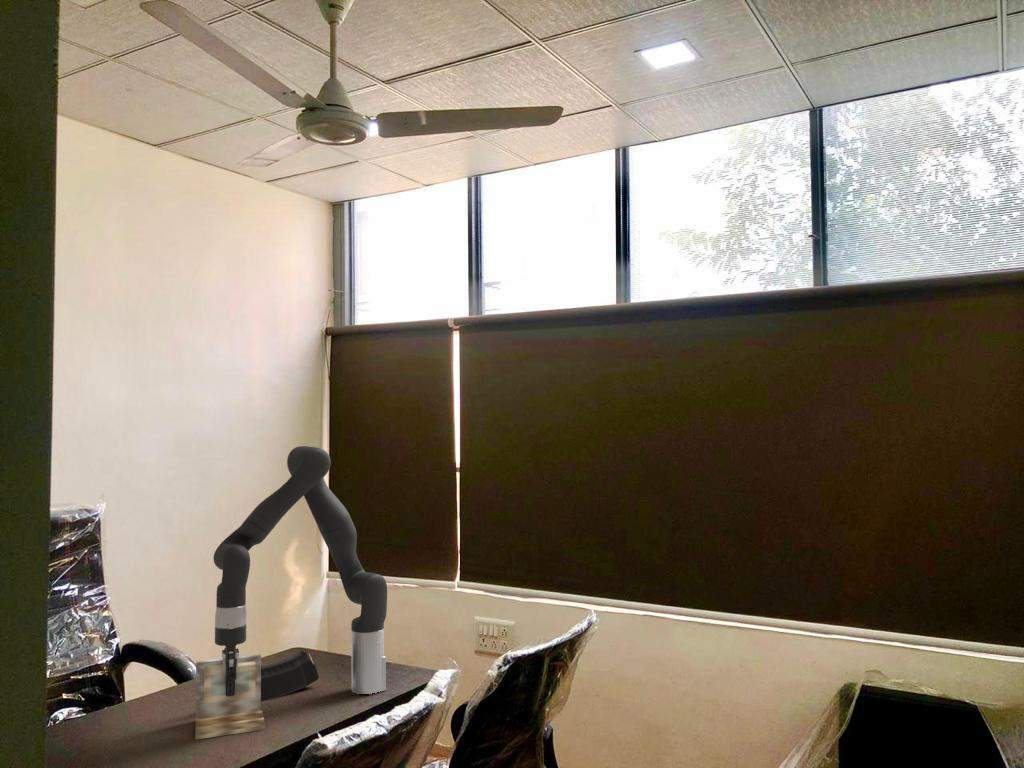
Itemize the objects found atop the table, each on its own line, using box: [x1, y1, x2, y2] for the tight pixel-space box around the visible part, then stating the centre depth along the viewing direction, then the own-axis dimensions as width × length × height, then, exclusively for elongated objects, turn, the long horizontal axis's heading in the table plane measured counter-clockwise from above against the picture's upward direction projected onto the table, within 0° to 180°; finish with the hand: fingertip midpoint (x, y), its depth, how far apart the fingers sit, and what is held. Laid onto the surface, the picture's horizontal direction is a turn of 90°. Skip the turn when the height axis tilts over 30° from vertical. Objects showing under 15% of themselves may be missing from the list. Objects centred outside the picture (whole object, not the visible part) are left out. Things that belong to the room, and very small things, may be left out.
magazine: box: [261, 650, 320, 702], centre depth 222 cm, size 17×3×30 cm
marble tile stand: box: [194, 654, 265, 740], centre depth 202 cm, size 16×14×15 cm
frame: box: [204, 661, 256, 703], centre depth 199 cm, size 12×3×8 cm, turn 112°
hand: (229, 693), depth 199 cm, fingers closed on frame, 3 cm apart
